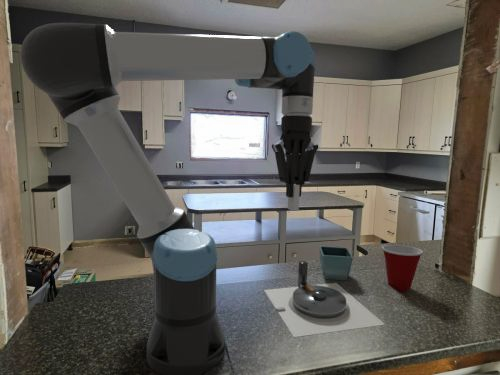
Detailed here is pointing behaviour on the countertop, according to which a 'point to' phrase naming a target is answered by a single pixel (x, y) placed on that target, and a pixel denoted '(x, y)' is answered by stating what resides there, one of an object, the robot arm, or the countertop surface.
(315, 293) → the dial
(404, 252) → the plastic cup
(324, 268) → the flower pot
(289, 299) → the panel
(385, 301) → the countertop surface
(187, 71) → the robot arm
